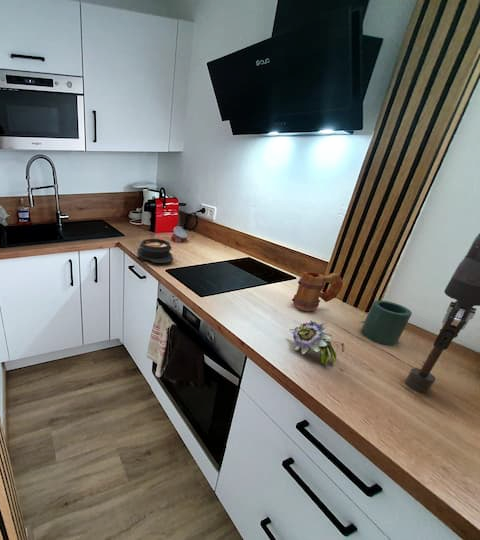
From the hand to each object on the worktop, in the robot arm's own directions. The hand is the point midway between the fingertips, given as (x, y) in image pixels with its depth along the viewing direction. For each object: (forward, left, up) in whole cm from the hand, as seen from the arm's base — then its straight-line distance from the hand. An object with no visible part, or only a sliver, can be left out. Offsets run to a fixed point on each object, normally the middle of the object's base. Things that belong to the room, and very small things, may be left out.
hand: (440, 345), depth 68 cm
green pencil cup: (-5, -22, -13) cm, 26 cm away
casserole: (+69, -80, -13) cm, 106 cm away
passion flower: (+21, -10, -13) cm, 27 cm away
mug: (+9, -37, -13) cm, 40 cm away
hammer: (0, 0, -13) cm, 13 cm away
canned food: (+54, -115, -13) cm, 128 cm away
